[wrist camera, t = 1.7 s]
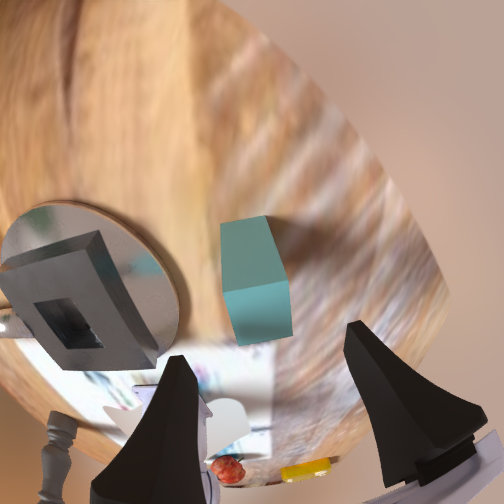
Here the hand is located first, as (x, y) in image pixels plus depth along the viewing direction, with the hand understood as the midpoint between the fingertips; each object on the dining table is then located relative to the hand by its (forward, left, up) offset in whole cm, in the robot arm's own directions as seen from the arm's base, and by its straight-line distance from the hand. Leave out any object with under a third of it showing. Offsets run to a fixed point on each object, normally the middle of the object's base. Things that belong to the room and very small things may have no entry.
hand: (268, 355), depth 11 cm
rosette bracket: (-2, +18, -9) cm, 21 cm away
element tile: (-83, -5, -10) cm, 84 cm away
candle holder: (-30, +41, -10) cm, 52 cm away
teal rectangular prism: (0, 0, -9) cm, 9 cm away
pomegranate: (-52, +13, -10) cm, 54 cm away
